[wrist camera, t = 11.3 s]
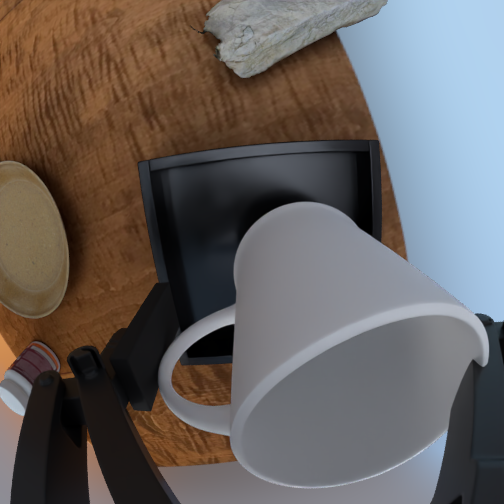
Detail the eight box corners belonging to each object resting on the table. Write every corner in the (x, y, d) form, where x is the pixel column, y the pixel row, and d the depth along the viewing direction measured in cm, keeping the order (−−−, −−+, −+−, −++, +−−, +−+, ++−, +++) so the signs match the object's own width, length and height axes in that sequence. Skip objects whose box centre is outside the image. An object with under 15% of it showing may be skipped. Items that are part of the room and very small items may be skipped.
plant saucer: (113, 249, 22) (100, 260, 19) (40, 329, 24) (28, 342, 21) (27, 126, 18) (9, 125, 15) (-29, 228, 20) (-43, 235, 18)
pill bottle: (29, 333, 24) (-10, 375, 16) (61, 352, 25) (25, 401, 17) (31, 360, 25) (-2, 402, 17) (61, 378, 26) (31, 425, 18)
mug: (200, 343, 19) (169, 501, 8) (168, 223, 16) (48, 341, 5) (366, 315, 19) (451, 448, 7) (363, 193, 16) (523, 259, 5)
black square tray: (186, 344, 24) (181, 365, 22) (151, 161, 20) (137, 161, 17) (360, 324, 24) (372, 343, 22) (362, 141, 19) (379, 140, 17)
